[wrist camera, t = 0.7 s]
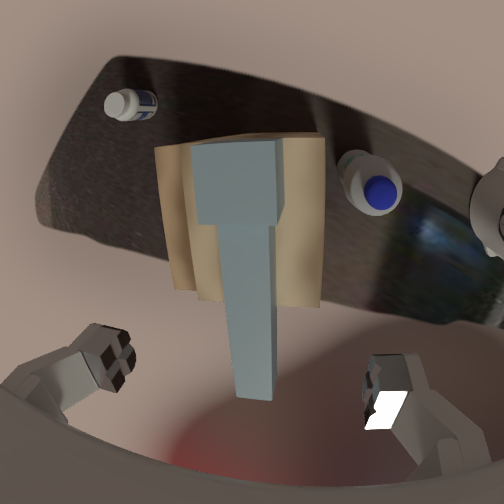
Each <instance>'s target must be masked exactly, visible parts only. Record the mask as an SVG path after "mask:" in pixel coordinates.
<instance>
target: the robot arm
mask: <svg viewBox="0 0 504 504" xmlns="http://www.w3.org/2000/svg"><path fill="white" fill-rule="evenodd" d="M470 220H471V225H472V228H473V230H474V232H475V234H476V235H477V237H478V238H479V239H480V240H481V241H482V243H483V245H484V248H485V251H486V254H487V255H489V256H490V257H493V256H499V257H501V258H502V259H503V260H504V157H502V158H500V159H499V161H498V162H497V164H496V166H495V167H494V168H493V169H492V170H491V171H490V172H488V173H487V174H485V175H484V176H483V177H482V178H481V180H480V181H479V182H478V184H477V185H476V187H475V189H474V192H473V195H472V198H471V203H470ZM130 340H131V338H130V336H129V333H128V332H127V331H125V330H122V329H118V328H114V327H110V326H106V325H100V324H96V323H92V324H90V325H89V326H88V327H87V328H86V329H85V330H84V331H83V332H82V333H81V334H80V335H79V336H78V337H77V338H76V339H75V340H74V341H73V343H72V344H71V345H70V346H69V347H63V348H60V349H58V350H55V351H53V352H51V353H48V354H46V355H43V356H41V357H38V358H36V359H33V360H31V361H28V362H26V363H23V364H21V365H19V366H17V368H16V369H15V370H14V371H13V372H12V373H11V374H10V375H9V376H8V377H7V378H6V379H5V380H4V381H3V383H1V384H0V504H504V459H502V460H499V461H496V462H493V463H492V462H491V459H490V455H489V451H488V448H487V444H486V441H485V437H484V434H483V431H482V430H481V429H480V428H479V427H478V426H477V425H475V424H474V423H473V422H472V421H471V420H470V419H468V418H467V417H466V416H465V415H463V414H462V413H461V412H460V411H459V410H458V409H456V408H455V407H454V406H453V405H452V404H450V403H449V402H448V401H447V400H446V399H445V398H443V397H442V396H441V395H440V394H439V393H437V392H436V391H435V390H430V388H429V385H428V382H427V379H426V376H425V373H424V370H423V366H422V363H421V361H420V358H419V355H418V354H417V353H408V354H407V353H406V354H378V355H377V354H376V355H375V354H372V355H371V357H370V360H369V371H368V372H367V373H366V374H365V378H364V382H363V402H364V403H365V404H366V408H365V411H364V420H365V429H378V428H379V429H381V428H391V431H392V432H393V433H394V435H395V436H396V437H397V438H398V440H399V441H400V442H401V444H402V445H403V446H404V447H405V449H406V450H407V451H408V453H409V454H410V455H411V457H412V458H413V459H414V460H415V462H416V463H417V464H418V467H417V468H416V469H415V470H414V472H413V473H412V474H411V475H410V476H409V477H408V478H407V480H406V482H404V483H396V484H386V485H374V486H358V487H308V486H291V485H279V484H268V483H261V482H252V481H246V480H240V479H234V478H228V477H223V476H217V475H212V474H208V473H203V472H199V471H195V470H190V469H187V468H183V467H178V466H175V465H172V464H168V463H165V462H161V461H158V460H155V459H152V458H149V457H145V456H143V455H140V454H137V453H133V452H131V451H128V450H126V449H123V448H120V447H118V446H115V445H113V444H110V443H108V442H105V441H103V440H101V439H98V438H96V437H94V436H91V435H89V434H87V433H85V432H82V431H80V430H78V429H76V428H74V427H72V426H70V425H68V420H67V418H66V417H65V415H64V414H63V413H62V412H63V411H65V410H66V409H68V408H69V407H71V406H73V405H74V404H76V403H77V402H79V401H81V400H82V399H84V398H85V397H87V396H88V395H90V394H92V393H93V392H95V391H97V390H98V389H99V388H101V389H104V390H107V391H111V392H114V393H118V391H119V390H120V388H121V387H122V385H123V384H124V382H125V376H126V375H127V374H129V373H131V372H132V370H133V369H134V367H135V363H136V353H135V350H134V348H133V347H132V346H131V345H130V344H129V342H130Z"/></svg>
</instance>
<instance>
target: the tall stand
mask: <svg viewBox="0 0 504 504" xmlns="http://www.w3.org/2000/svg"><path fill="white" fill-rule="evenodd" d="M256 138H283V154H284V190H285V205H284V208H283V211H282V214H281V217H280V219H279V222H278V225H277V226H275V230H276V285H277V306H293V307H316V308H319V307H320V297H321V282H322V266H323V246H324V219H325V138H324V137H323V136H322V135H320V134H319V133H318V132H273V133H247V134H239V135H232V136H225V137H218V138H211V139H205V140H199V141H193V142H188V143H182V144H179V146H180V157H181V168H182V178H183V188H184V197H185V206H186V215H187V223H188V231H189V239H190V247H191V254H192V261H193V268H194V275H195V282H196V288H197V295H198V300H203V301H215V302H225V300H224V291H223V281H222V272H221V262H220V252H219V242H218V231H217V225H198V220H197V211H196V202H195V192H194V181H193V170H192V159H191V147H190V146H191V145H196V144H201V143H206V142H212V141H219V140H235V139H256Z"/></svg>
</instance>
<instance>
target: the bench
mask: <svg viewBox="0 0 504 504" xmlns="http://www.w3.org/2000/svg"><path fill="white" fill-rule="evenodd" d="M154 149H155V159H156V169H157V178H158V186H159V194H160V202H161V210H162V217H163V224H164V230H165V237H166V243H167V249H168V255H169V261H170V267H171V273H172V278H173V283H174V288H175V289H180V290H192V291H197V288H196V282H195V275H194V268H193V261H192V254H191V247H190V239H189V231H188V223H187V215H186V206H185V197H184V188H183V178H182V168H181V157H180V146H179V144H176V145H168V146H160V147H155V148H154Z"/></svg>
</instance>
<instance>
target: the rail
mask: <svg viewBox="0 0 504 504" xmlns="http://www.w3.org/2000/svg"><path fill="white" fill-rule="evenodd" d="M190 147H191V159H192V170H193V181H194V192H195V202H196V211H197V220H198V225H217V231H218V242H219V252H220V262H221V272H222V281H223V291H224V300H225V308H226V317H227V326H228V334H229V342H230V350H231V358H232V365H233V374H234V381H235V388H236V395H237V397H242V398H250V399H259V400H270V401H272V398H273V393H274V388H275V382H276V377H277V285H276V230H275V226H277V225H278V222H279V219H280V217H281V214H282V211H283V208H284V205H285V190H284V154H283V138H256V139H235V140H219V141H212V142H206V143H201V144H196V145H191V146H190Z"/></svg>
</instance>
